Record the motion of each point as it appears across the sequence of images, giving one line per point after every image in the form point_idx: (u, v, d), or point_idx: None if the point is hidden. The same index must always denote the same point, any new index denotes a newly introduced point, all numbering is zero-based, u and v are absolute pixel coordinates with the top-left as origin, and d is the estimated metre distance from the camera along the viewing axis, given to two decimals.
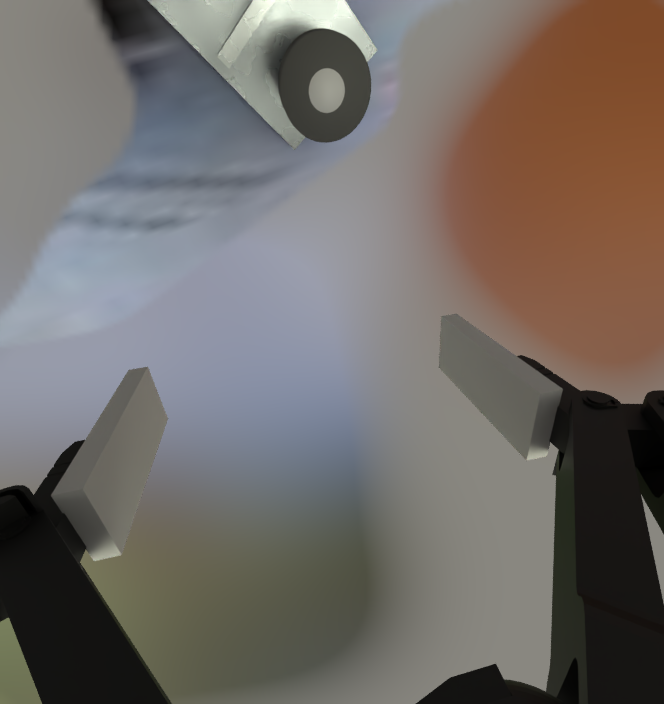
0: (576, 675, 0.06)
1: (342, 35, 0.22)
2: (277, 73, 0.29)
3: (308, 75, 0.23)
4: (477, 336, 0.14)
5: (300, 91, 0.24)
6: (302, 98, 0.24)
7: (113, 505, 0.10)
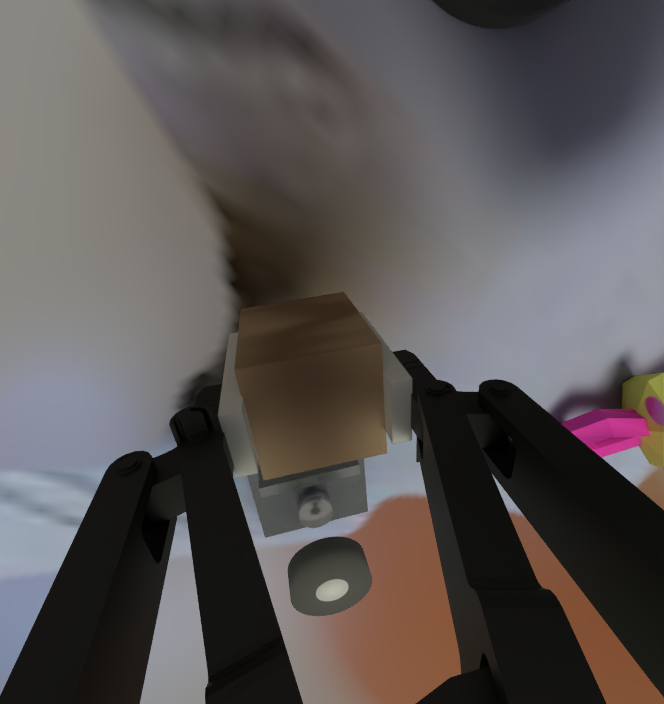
0: (486, 666, 0.06)
1: (366, 569, 0.26)
2: (291, 493, 0.32)
3: (326, 579, 0.25)
4: None
5: (313, 584, 0.25)
6: (311, 588, 0.26)
7: (251, 432, 0.13)
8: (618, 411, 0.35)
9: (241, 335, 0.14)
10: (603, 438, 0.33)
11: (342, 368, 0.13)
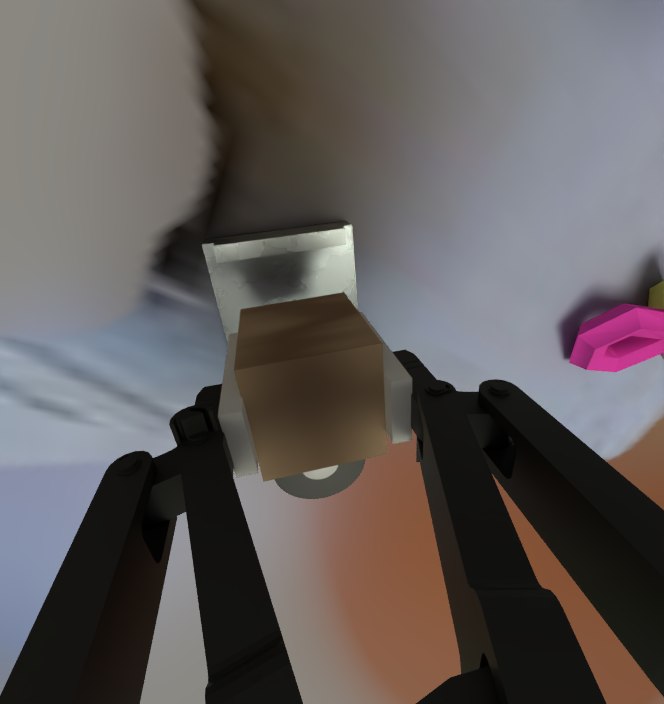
0: (486, 665, 0.06)
1: None
2: None
3: None
4: None
5: None
6: None
7: (250, 432, 0.13)
8: (646, 307, 0.31)
9: (240, 335, 0.14)
10: (629, 332, 0.30)
11: (343, 369, 0.12)
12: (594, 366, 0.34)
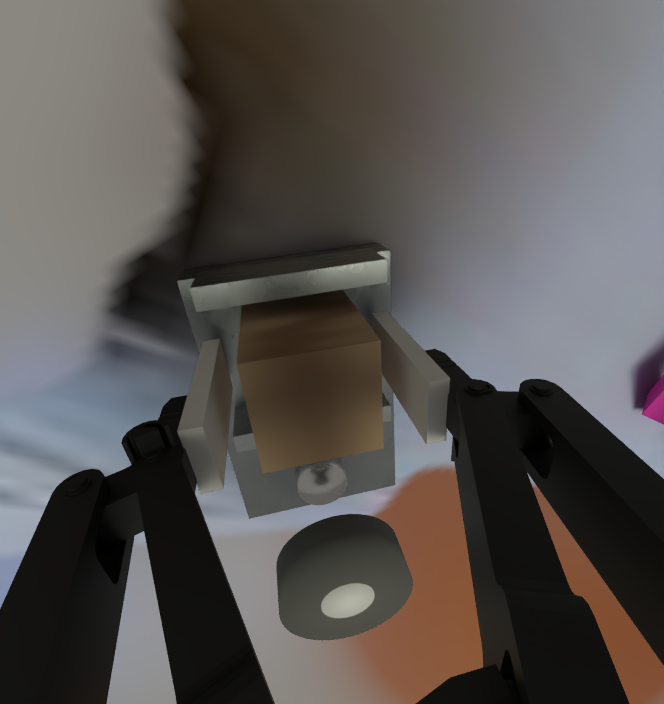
0: (509, 663, 0.06)
1: (404, 567, 0.16)
2: None
3: (339, 583, 0.15)
4: (396, 331, 0.16)
5: (316, 591, 0.15)
6: (313, 597, 0.15)
7: (216, 447, 0.12)
8: None
9: (242, 331, 0.15)
10: None
11: (342, 365, 0.13)
12: None
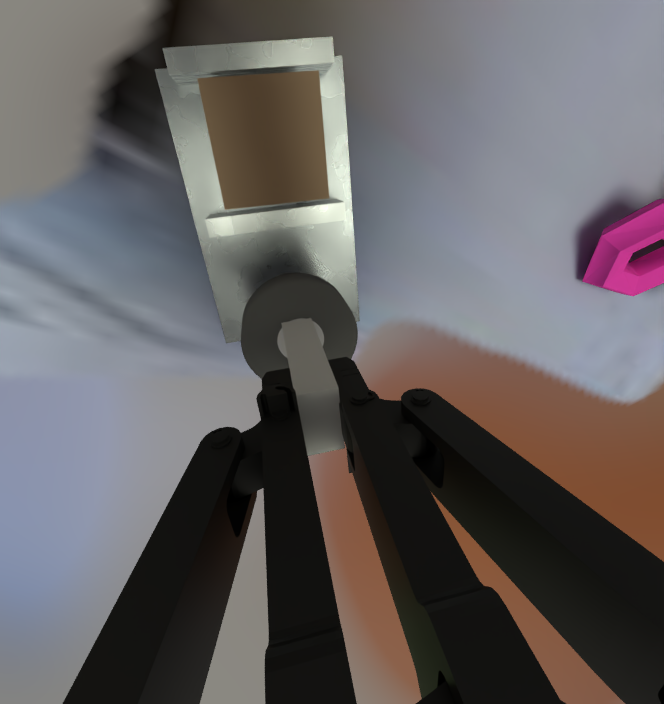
0: (444, 680, 0.06)
1: (348, 308, 0.18)
2: (257, 273, 0.24)
3: (291, 315, 0.18)
4: (310, 339, 0.16)
5: (272, 322, 0.18)
6: (270, 328, 0.18)
7: None
8: None
9: None
10: (663, 228, 0.25)
11: (287, 93, 0.15)
12: (612, 283, 0.30)
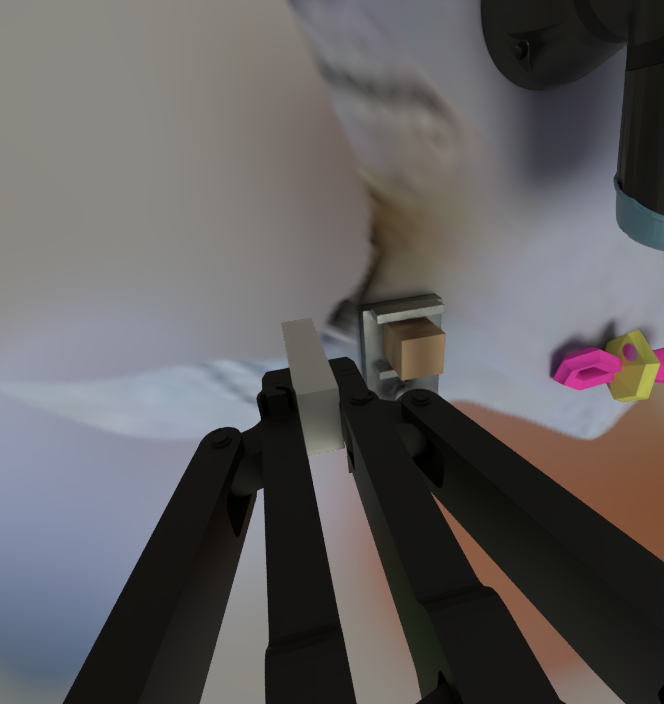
0: (444, 680, 0.06)
1: None
2: (390, 386, 0.49)
3: None
4: (310, 339, 0.16)
5: None
6: None
7: None
8: None
9: (394, 330, 0.41)
10: (593, 363, 0.50)
11: (433, 341, 0.39)
12: (568, 383, 0.54)
